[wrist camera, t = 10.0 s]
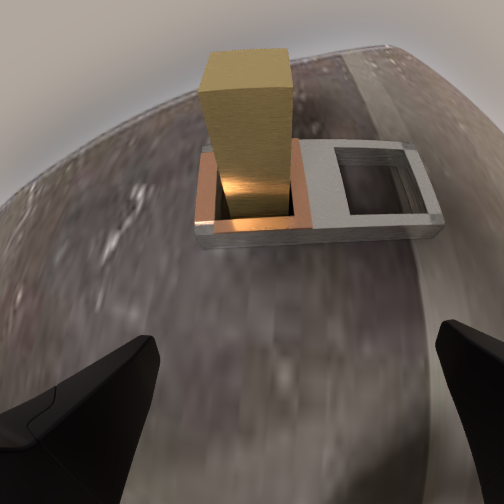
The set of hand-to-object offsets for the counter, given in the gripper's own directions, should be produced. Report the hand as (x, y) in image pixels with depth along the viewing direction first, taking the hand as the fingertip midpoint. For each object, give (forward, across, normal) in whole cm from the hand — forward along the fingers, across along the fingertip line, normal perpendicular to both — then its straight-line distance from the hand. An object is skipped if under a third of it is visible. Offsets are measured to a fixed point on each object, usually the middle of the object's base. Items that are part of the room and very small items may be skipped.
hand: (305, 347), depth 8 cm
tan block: (+18, +2, -1) cm, 18 cm away
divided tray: (+18, -3, -1) cm, 19 cm away
